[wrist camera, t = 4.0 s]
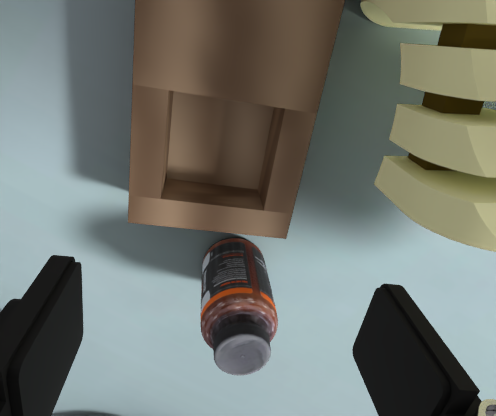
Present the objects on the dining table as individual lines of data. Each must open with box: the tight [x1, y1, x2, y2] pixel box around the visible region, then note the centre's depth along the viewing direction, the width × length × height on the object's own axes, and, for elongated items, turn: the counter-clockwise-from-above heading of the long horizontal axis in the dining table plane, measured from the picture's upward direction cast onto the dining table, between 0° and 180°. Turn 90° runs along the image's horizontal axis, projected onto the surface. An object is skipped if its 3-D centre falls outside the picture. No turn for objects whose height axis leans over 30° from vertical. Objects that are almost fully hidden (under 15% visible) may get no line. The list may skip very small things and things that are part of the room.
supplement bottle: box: [201, 238, 278, 375], centre depth 30 cm, size 6×6×11 cm
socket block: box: [128, 0, 345, 239], centre depth 25 cm, size 12×24×5 cm, turn 170°
